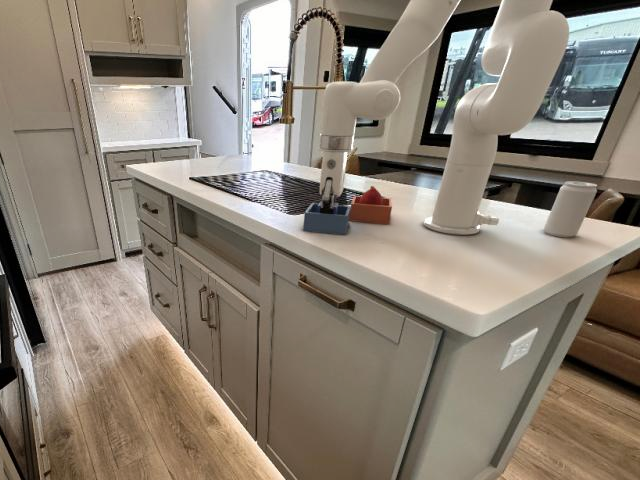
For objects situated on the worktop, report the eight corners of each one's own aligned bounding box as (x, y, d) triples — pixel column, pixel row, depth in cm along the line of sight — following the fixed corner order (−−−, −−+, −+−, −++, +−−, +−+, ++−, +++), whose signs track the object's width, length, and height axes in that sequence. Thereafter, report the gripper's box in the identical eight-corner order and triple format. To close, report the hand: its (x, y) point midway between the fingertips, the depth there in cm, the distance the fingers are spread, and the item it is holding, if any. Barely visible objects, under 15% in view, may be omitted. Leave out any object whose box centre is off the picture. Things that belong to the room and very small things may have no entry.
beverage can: (570, 232, 88) (593, 181, 83) (579, 239, 83) (604, 186, 77) (539, 228, 91) (559, 179, 85) (546, 236, 86) (568, 184, 80)
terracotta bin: (388, 214, 103) (391, 198, 101) (388, 224, 94) (392, 206, 92) (351, 211, 106) (354, 195, 104) (348, 220, 97) (351, 203, 95)
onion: (376, 213, 102) (382, 184, 98) (381, 218, 97) (387, 188, 93) (356, 212, 103) (360, 183, 99) (359, 217, 98) (364, 187, 94)
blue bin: (348, 223, 95) (351, 206, 93) (344, 234, 87) (347, 216, 84) (310, 219, 98) (311, 203, 96) (303, 230, 90) (304, 212, 87)
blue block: (336, 220, 93) (338, 203, 91) (334, 225, 89) (336, 207, 87) (318, 218, 94) (320, 201, 92) (316, 223, 90) (317, 205, 88)
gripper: (349, 148, 75) (337, 232, 83) (355, 141, 89) (344, 214, 98) (313, 146, 77) (305, 229, 86) (324, 140, 91) (317, 212, 100)
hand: (326, 220), depth 92 cm, fingers closed on blue block, 4 cm apart
